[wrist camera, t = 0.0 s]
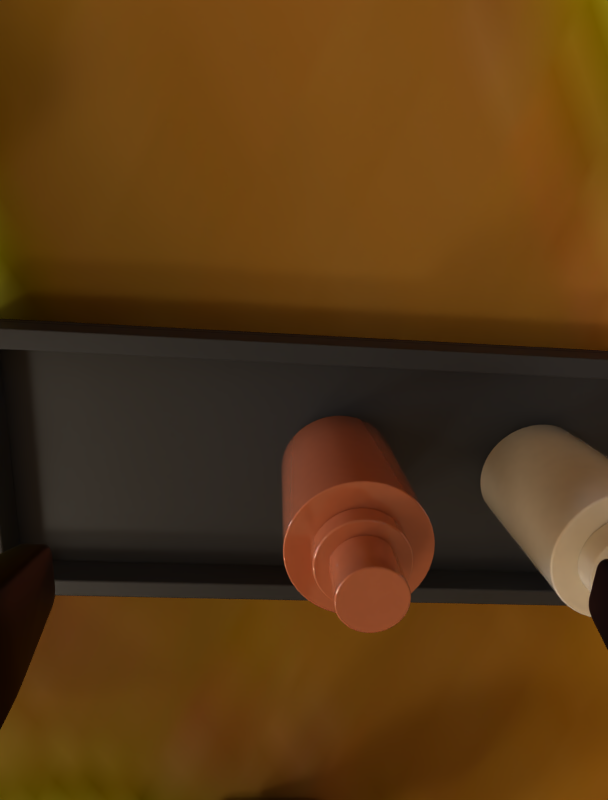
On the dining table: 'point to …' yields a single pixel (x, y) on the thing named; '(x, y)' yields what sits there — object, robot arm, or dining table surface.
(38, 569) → the robot arm
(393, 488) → the terracotta bottle
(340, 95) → the dining table surface
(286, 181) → the dining table surface
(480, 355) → the tray
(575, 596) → the cream bottle
